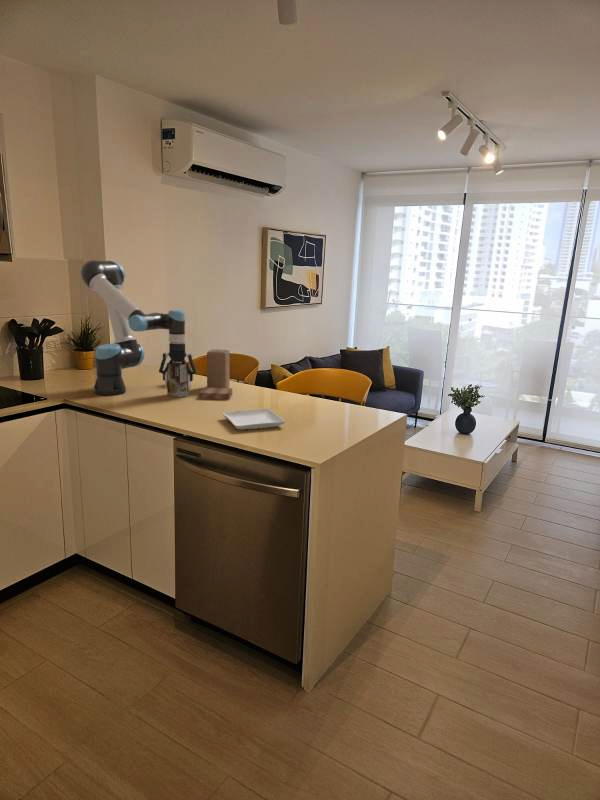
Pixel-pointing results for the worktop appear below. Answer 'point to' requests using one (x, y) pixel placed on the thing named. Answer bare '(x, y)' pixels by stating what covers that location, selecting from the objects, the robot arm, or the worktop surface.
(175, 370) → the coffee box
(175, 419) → the worktop surface
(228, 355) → the block
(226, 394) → the walnut riser
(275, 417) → the salad plate
